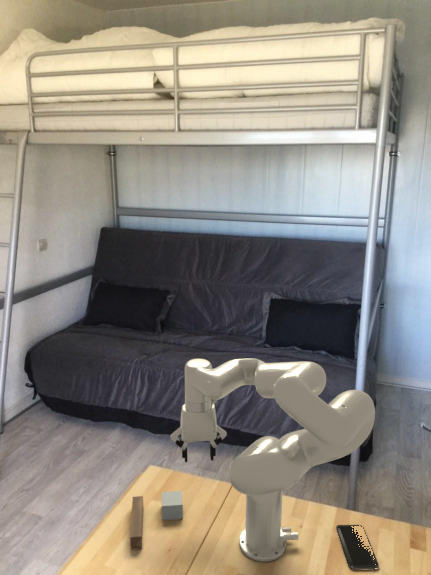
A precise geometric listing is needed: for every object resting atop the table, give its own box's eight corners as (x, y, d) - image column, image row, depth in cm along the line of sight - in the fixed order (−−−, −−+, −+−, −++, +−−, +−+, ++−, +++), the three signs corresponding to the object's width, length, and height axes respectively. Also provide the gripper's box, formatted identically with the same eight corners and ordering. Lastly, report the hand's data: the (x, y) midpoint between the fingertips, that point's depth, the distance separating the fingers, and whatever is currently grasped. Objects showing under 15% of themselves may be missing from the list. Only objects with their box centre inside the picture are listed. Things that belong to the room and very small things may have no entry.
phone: (349, 567, 127) (335, 524, 141) (349, 571, 127) (335, 528, 141) (380, 567, 127) (363, 524, 141) (379, 571, 127) (362, 528, 141)
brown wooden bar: (143, 507, 149) (142, 496, 148) (142, 548, 133) (141, 536, 132) (133, 508, 148) (132, 496, 147) (130, 549, 133) (130, 537, 132)
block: (181, 504, 150) (181, 490, 149) (182, 519, 144) (182, 504, 143) (161, 506, 149) (161, 492, 148) (162, 520, 144) (161, 506, 142)
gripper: (227, 394, 143) (226, 449, 147) (166, 398, 141) (168, 453, 145) (231, 408, 135) (230, 464, 140) (167, 411, 133) (168, 468, 138)
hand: (198, 458), depth 143 cm, fingers open, 6 cm apart
